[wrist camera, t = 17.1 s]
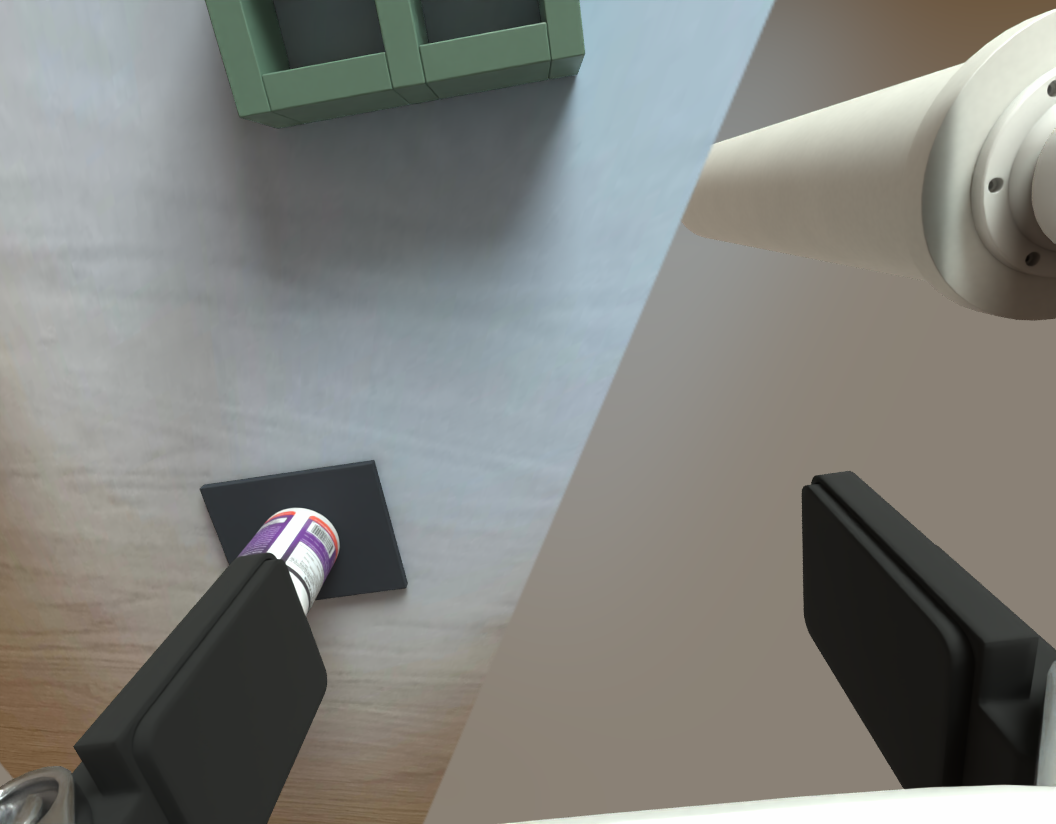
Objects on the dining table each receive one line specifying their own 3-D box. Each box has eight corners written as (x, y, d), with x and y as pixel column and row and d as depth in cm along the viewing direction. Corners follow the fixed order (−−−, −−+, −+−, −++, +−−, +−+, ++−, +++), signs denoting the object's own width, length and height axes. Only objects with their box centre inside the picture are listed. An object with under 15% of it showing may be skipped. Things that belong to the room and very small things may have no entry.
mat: (374, 459, 39) (372, 463, 38) (408, 583, 42) (406, 588, 42) (203, 484, 40) (198, 488, 39) (250, 604, 43) (246, 609, 42)
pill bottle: (261, 564, 41) (183, 667, 32) (266, 498, 39) (186, 587, 30) (337, 578, 41) (282, 685, 32) (346, 514, 40) (291, 607, 31)
